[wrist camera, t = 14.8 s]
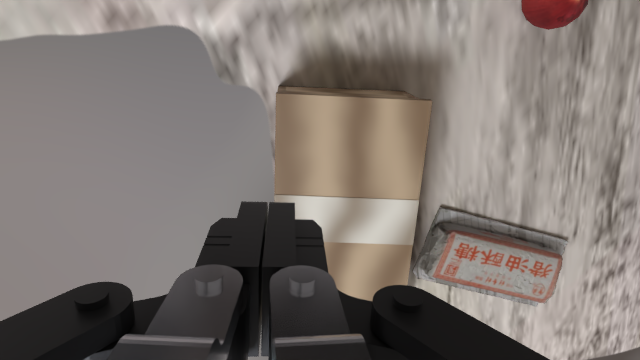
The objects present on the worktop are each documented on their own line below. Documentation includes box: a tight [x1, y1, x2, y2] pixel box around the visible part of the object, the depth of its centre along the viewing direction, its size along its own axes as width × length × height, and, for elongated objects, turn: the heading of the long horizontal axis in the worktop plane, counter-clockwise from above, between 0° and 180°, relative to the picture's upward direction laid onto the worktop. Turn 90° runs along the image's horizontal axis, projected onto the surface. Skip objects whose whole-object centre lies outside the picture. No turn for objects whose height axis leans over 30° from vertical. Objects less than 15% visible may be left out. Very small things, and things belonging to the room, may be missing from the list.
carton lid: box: [274, 92, 432, 301], centre depth 45 cm, size 14×25×1 cm, turn 177°
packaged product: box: [413, 207, 568, 306], centre depth 55 cm, size 18×5×10 cm
